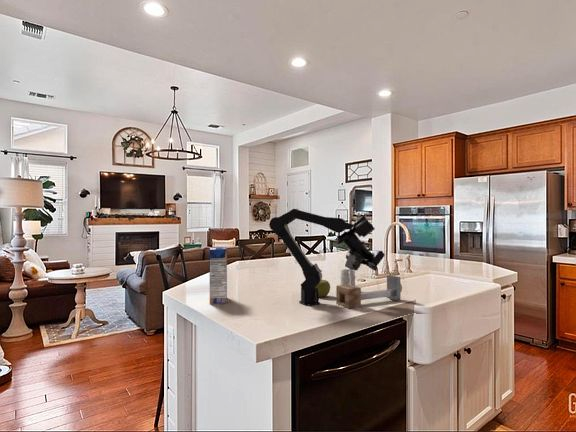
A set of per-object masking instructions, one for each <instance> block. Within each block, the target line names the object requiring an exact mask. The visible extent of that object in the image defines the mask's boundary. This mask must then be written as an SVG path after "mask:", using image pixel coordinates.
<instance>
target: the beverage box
mask: <svg viewBox="0 0 576 432" xmlns="http://www.w3.org/2000/svg"><path fill="white" fill-rule="evenodd" d="M227 272H228V249H227V247H226V246H221V247H220V246H218V247H217V246H214V247H213V246H211V247H209V305H216V304H217V305H219V304H220V305H221V304H227V303H228V290H227V289H228V273H227Z"/></svg>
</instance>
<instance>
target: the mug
mask: <svg viewBox="0 0 576 432" xmlns="http://www.w3.org/2000/svg"><path fill="white" fill-rule="evenodd" d="M355 272H356V271H355V270H351V269H349V268H347V269H346V268H345V269H343V268H342V269H340V285H347V284H349V285H353V286H356V275H355Z"/></svg>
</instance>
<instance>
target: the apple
mask: <svg viewBox="0 0 576 432" xmlns="http://www.w3.org/2000/svg"><path fill="white" fill-rule="evenodd" d="M316 287H317V288H318V291H319V298H323V297H326V296H328V295H329V293H330V291H331V284H330V282H329V281H328V280H327V279H322V280H321V281H320V283H319V284H318V285H317V286H316Z"/></svg>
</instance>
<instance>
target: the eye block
mask: <svg viewBox="0 0 576 432" xmlns="http://www.w3.org/2000/svg"><path fill="white" fill-rule="evenodd" d="M335 291H336V297H335V298H336V300H335V301H336V305H337V304H338V305H337V306H340V305H341V306H340V307H342V306H343V308H345V307H346V308H345V309H347V308H350V309H355V308H354V307H358V308H362V300H361V292H362V288H361V287H360V286H356V285H355V286H353V285H349V284H347V285H341V284H339V285H338V284H337V285H336V290H335Z"/></svg>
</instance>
